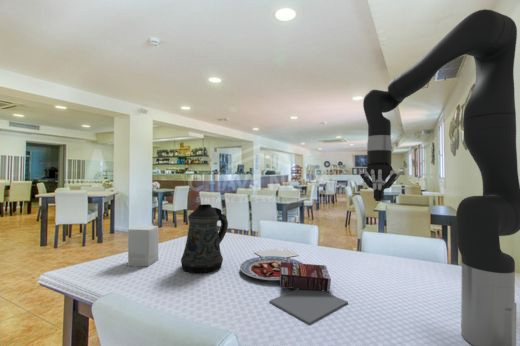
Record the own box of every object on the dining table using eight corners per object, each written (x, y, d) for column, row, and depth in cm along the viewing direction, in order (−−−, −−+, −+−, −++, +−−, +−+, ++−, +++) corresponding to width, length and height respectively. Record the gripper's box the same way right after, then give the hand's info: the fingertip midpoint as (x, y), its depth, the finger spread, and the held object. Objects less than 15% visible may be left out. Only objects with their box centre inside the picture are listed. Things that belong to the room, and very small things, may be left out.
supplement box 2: (159, 259, 116) (159, 225, 116) (148, 267, 107) (148, 229, 107) (139, 259, 117) (139, 224, 117) (127, 266, 108) (127, 229, 108)
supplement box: (331, 278, 84) (281, 274, 85) (330, 292, 85) (280, 288, 86) (326, 264, 93) (280, 261, 93) (324, 277, 94) (279, 273, 94)
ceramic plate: (248, 289, 88) (248, 280, 88) (234, 263, 113) (234, 256, 113) (319, 281, 95) (319, 273, 95) (291, 259, 119) (291, 252, 119)
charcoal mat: (347, 303, 78) (347, 301, 78) (309, 324, 67) (309, 322, 67) (308, 286, 90) (308, 285, 90) (269, 302, 78) (269, 300, 78)
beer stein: (172, 271, 102) (172, 206, 102) (198, 256, 121) (198, 201, 121) (210, 276, 97) (211, 208, 97) (232, 260, 116) (232, 203, 116)
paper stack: (244, 248, 136) (245, 247, 136) (285, 242, 148) (285, 241, 148) (267, 261, 116) (267, 260, 116) (313, 254, 127) (313, 252, 127)
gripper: (355, 150, 93) (354, 200, 93) (394, 147, 83) (393, 203, 83) (366, 151, 98) (365, 198, 98) (404, 149, 88) (404, 202, 87)
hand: (378, 200), depth 90 cm, fingers closed
